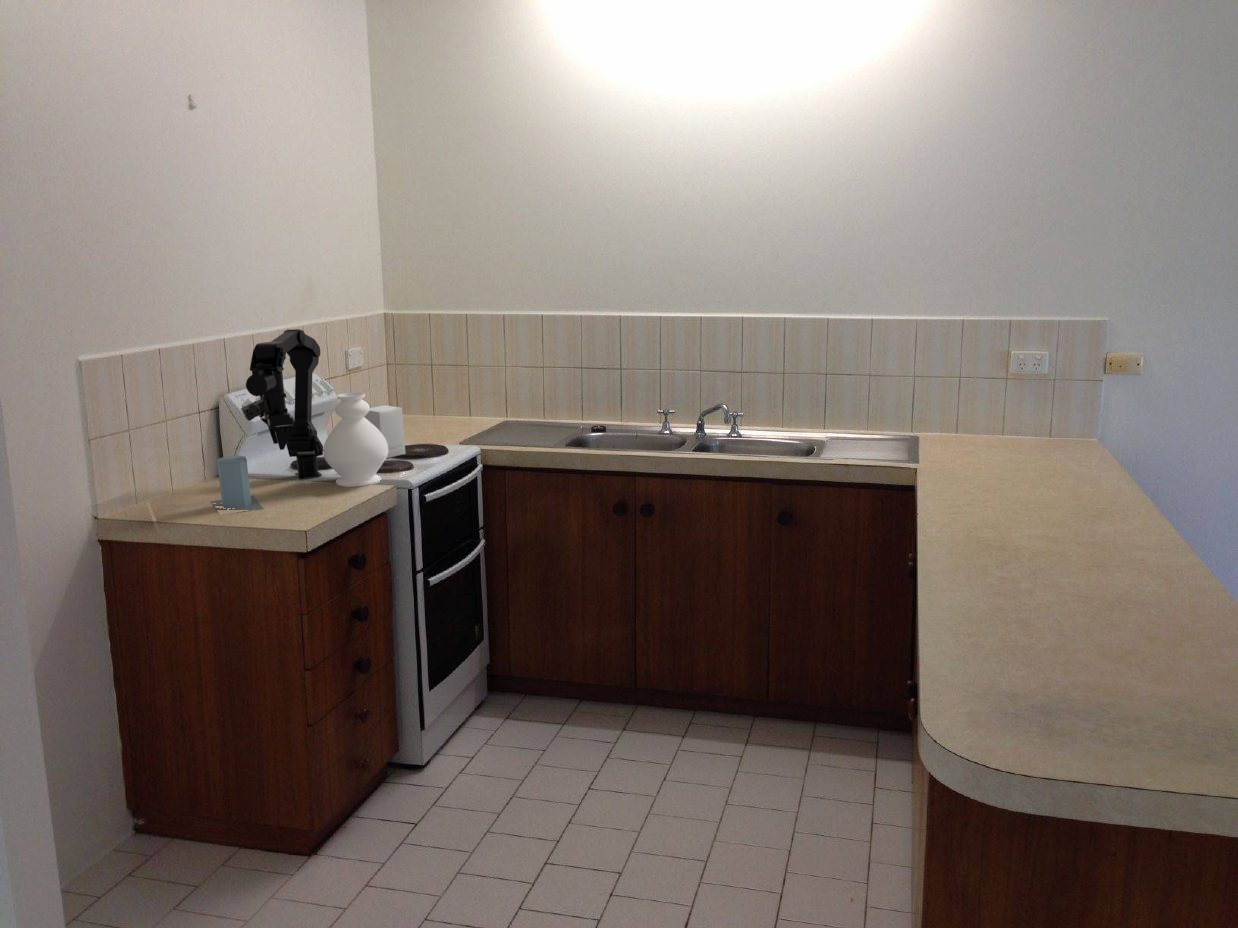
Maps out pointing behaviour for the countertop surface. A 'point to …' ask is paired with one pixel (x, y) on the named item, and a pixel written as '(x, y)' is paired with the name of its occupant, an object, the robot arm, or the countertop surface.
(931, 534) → the countertop surface
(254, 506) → the mat
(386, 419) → the supplement box
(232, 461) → the tumbler
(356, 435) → the decorative vase
